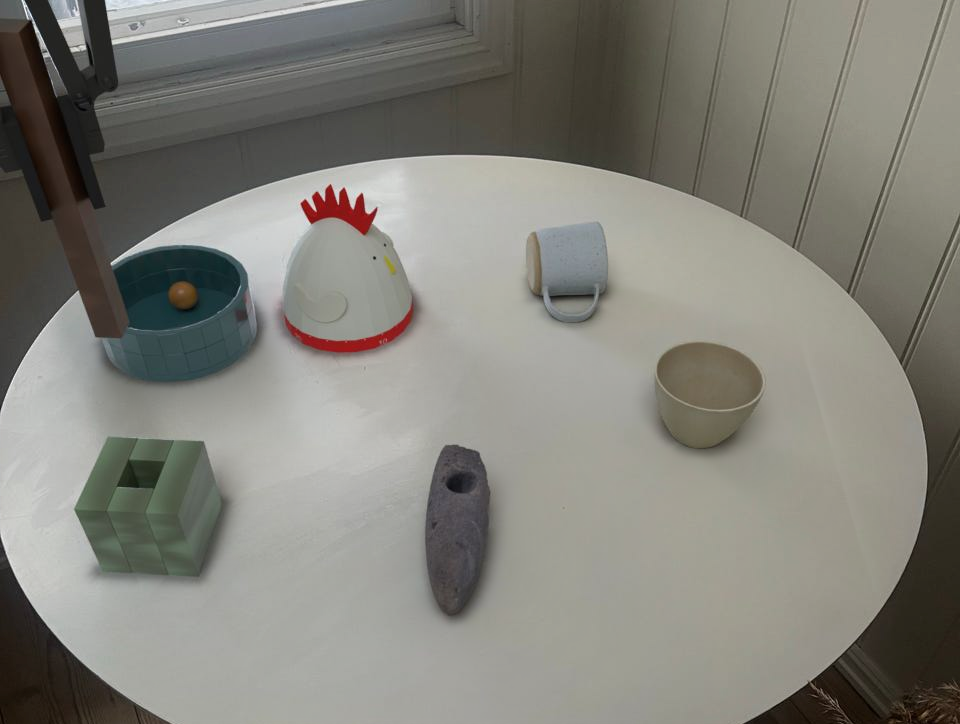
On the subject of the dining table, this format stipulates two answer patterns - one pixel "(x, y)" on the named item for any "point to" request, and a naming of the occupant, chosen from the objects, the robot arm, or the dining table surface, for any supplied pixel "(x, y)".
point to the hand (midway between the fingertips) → (69, 204)
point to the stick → (60, 175)
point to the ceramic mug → (568, 264)
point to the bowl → (182, 314)
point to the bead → (183, 295)
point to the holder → (150, 506)
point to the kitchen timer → (344, 279)
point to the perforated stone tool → (456, 525)
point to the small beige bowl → (706, 390)
